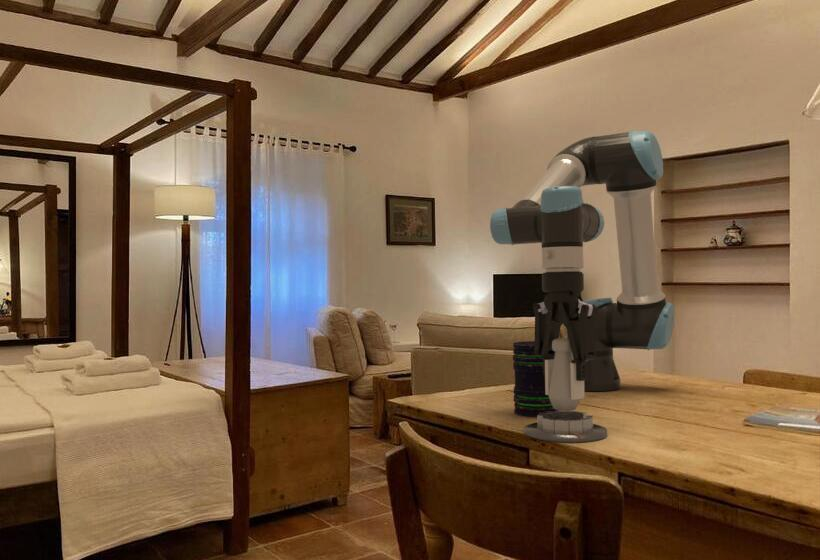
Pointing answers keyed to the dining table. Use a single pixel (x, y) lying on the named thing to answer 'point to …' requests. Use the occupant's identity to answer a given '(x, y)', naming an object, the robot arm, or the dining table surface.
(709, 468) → the dining table surface
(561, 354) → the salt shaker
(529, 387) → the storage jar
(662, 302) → the robot arm
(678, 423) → the dining table surface
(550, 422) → the socket
